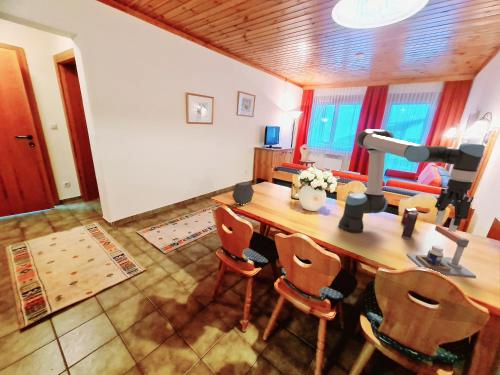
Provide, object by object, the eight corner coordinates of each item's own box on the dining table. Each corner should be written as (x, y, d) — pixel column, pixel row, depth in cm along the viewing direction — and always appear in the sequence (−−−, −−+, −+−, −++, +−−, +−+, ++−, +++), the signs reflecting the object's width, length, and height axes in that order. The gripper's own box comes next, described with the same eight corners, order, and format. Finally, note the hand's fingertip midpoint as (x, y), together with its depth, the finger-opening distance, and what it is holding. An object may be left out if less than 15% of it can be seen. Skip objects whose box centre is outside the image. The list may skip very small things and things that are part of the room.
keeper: (460, 247, 97) (463, 241, 96) (433, 230, 114) (435, 224, 113) (469, 247, 97) (471, 241, 96) (440, 230, 113) (442, 225, 112)
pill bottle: (422, 260, 104) (427, 243, 102) (431, 260, 105) (437, 243, 102) (431, 267, 99) (438, 250, 96) (442, 267, 100) (448, 250, 97)
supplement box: (410, 239, 127) (417, 216, 122) (401, 236, 130) (407, 213, 125) (412, 235, 133) (418, 212, 128) (403, 232, 136) (409, 210, 132)
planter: (248, 193, 184) (241, 176, 171) (255, 195, 180) (248, 178, 166) (238, 207, 176) (229, 191, 162) (245, 210, 171) (237, 193, 158)
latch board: (425, 272, 97) (432, 250, 94) (406, 254, 110) (412, 235, 107) (475, 277, 95) (484, 255, 92) (450, 258, 109) (457, 239, 105)
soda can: (415, 227, 144) (420, 211, 140) (403, 226, 145) (408, 210, 142) (409, 223, 150) (414, 208, 147) (398, 222, 152) (402, 206, 148)
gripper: (494, 186, 80) (473, 238, 86) (450, 175, 99) (436, 218, 106) (473, 185, 81) (454, 237, 87) (434, 174, 100) (421, 217, 106)
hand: (444, 227), depth 96 cm, fingers open, 7 cm apart
